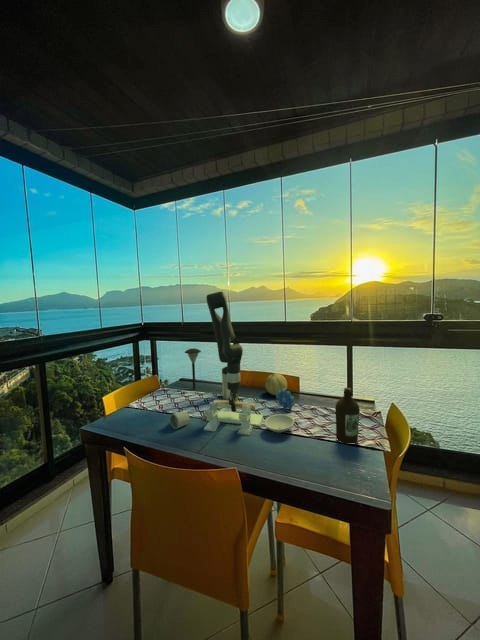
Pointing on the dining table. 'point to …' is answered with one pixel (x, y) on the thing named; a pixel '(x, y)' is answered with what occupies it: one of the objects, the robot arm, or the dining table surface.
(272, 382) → the cantaloupe
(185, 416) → the ceramic mug
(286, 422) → the dish
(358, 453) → the dining table surface
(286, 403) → the grapes
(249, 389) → the dining table surface
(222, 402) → the birch batten
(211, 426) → the hook rack
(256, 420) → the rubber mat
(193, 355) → the solar garden light
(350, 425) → the olive oil
